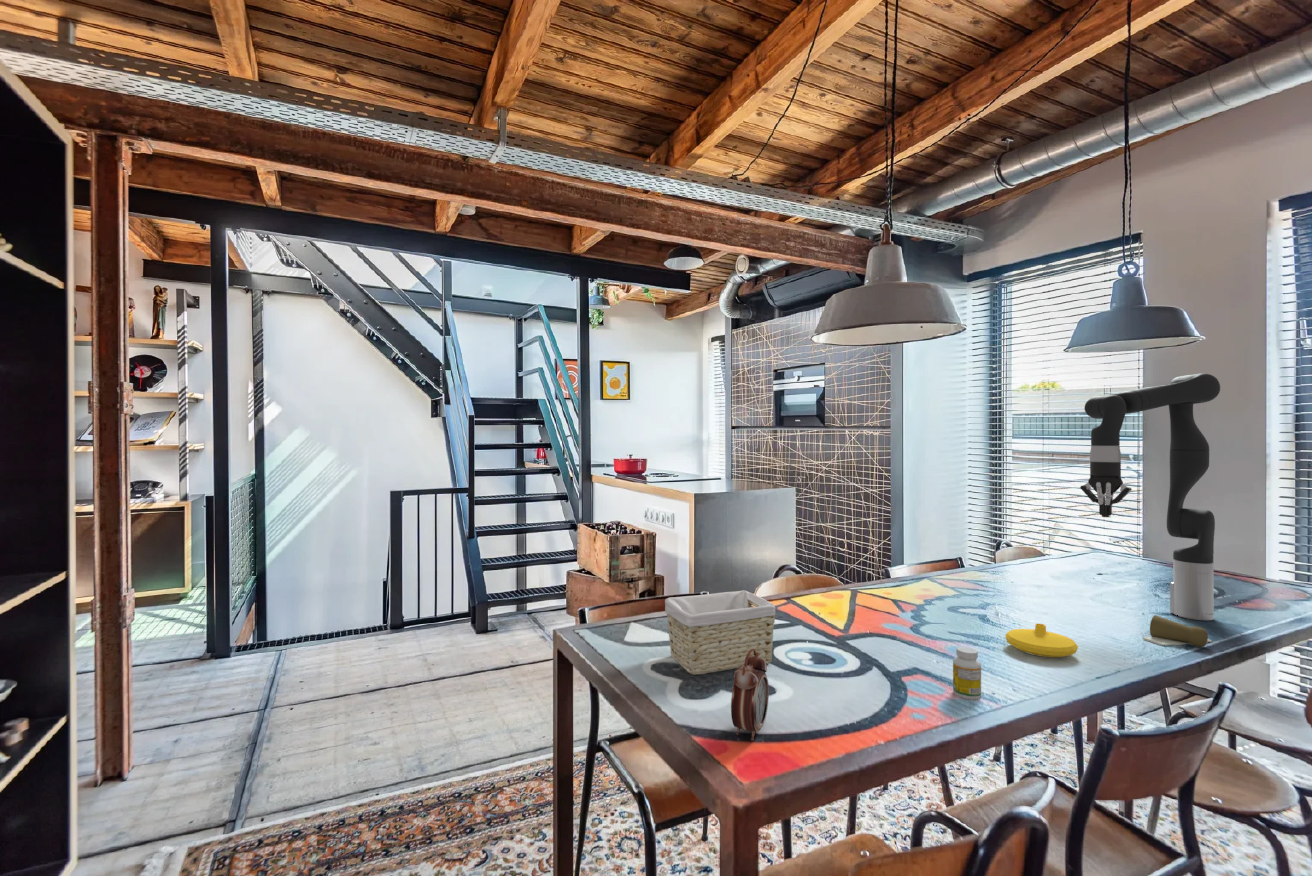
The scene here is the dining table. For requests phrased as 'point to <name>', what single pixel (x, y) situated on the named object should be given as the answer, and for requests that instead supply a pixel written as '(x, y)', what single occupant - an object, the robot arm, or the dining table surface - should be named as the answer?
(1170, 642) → the pad
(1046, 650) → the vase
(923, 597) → the dining table surface
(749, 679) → the alarm clock
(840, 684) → the dining table surface
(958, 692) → the supplement bottle
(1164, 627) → the cork
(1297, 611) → the dining table surface
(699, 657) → the storage basket
